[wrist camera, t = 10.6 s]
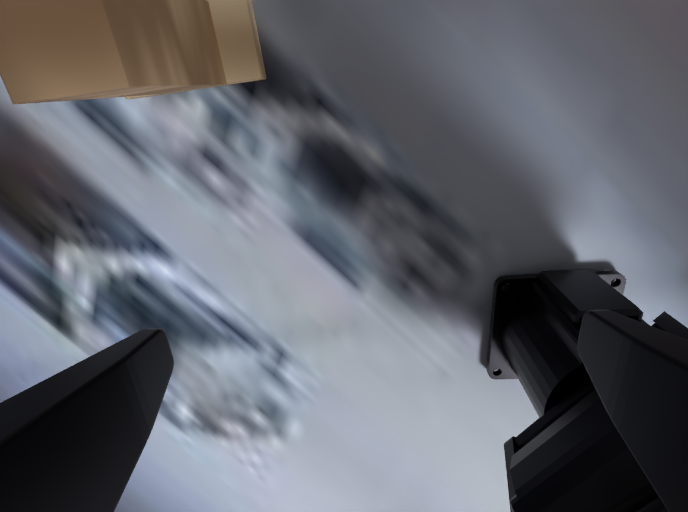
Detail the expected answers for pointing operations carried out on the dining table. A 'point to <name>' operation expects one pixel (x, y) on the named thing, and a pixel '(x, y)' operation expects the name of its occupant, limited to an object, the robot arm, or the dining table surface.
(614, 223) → the dining table surface
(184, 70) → the tan boxy piece
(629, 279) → the dining table surface
